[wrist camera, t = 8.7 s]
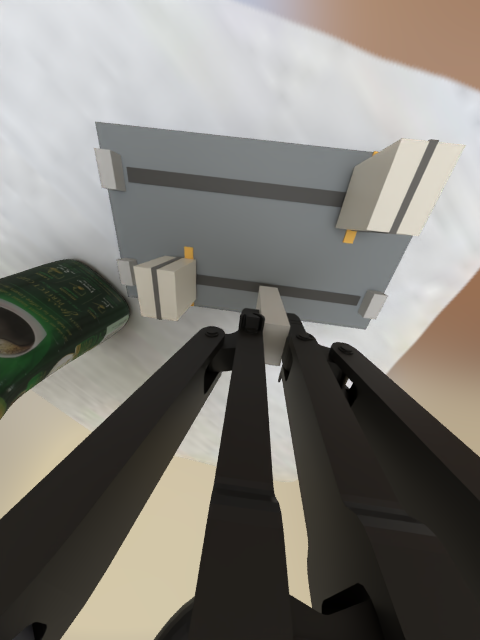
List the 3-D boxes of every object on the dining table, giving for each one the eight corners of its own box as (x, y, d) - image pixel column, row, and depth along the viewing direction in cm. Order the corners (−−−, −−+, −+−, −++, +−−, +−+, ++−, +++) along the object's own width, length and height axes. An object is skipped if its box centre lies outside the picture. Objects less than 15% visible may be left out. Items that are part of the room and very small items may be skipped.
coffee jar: (46, 289, 23) (-466, 445, 7) (73, 246, 20) (-690, 338, 4) (111, 340, 26) (-138, 536, 10) (143, 309, 23) (-131, 513, 7)
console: (138, 290, 22) (120, 300, 19) (113, 133, 16) (81, 113, 13) (356, 320, 21) (371, 335, 19) (427, 168, 15) (467, 155, 12)
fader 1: (168, 295, 19) (141, 316, 15) (165, 254, 18) (133, 265, 13) (196, 299, 19) (177, 321, 15) (196, 259, 17) (174, 271, 13)
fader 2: (335, 228, 15) (366, 230, 11) (354, 165, 13) (403, 136, 9) (371, 233, 15) (418, 237, 11) (397, 170, 13) (467, 143, 9)
